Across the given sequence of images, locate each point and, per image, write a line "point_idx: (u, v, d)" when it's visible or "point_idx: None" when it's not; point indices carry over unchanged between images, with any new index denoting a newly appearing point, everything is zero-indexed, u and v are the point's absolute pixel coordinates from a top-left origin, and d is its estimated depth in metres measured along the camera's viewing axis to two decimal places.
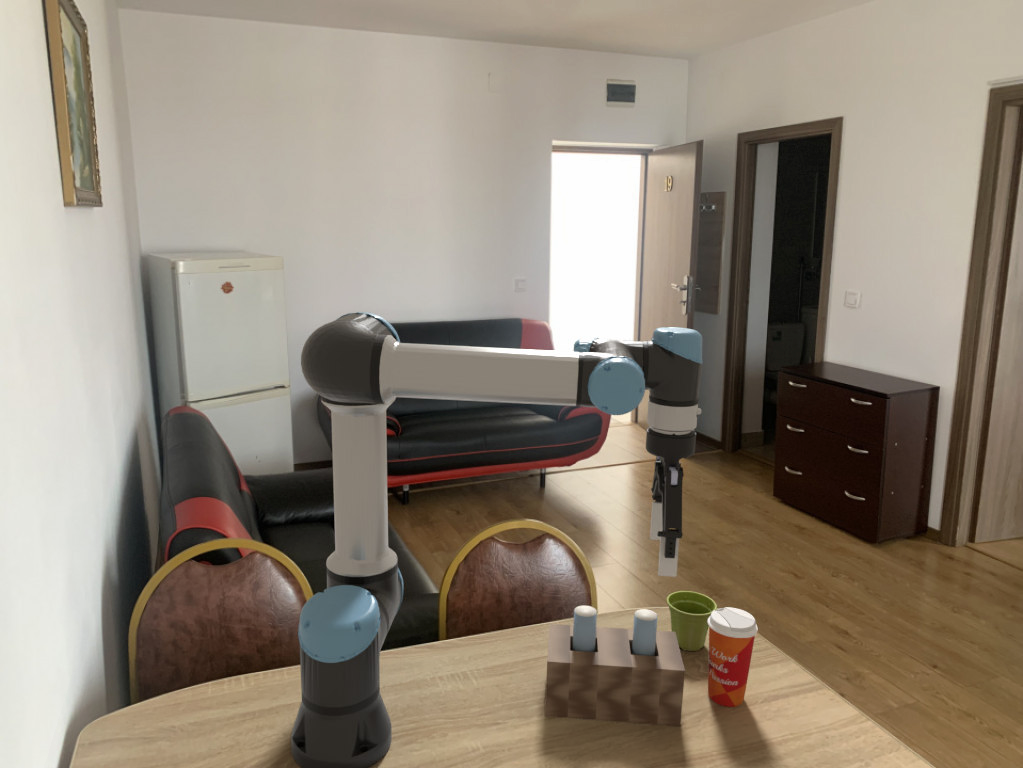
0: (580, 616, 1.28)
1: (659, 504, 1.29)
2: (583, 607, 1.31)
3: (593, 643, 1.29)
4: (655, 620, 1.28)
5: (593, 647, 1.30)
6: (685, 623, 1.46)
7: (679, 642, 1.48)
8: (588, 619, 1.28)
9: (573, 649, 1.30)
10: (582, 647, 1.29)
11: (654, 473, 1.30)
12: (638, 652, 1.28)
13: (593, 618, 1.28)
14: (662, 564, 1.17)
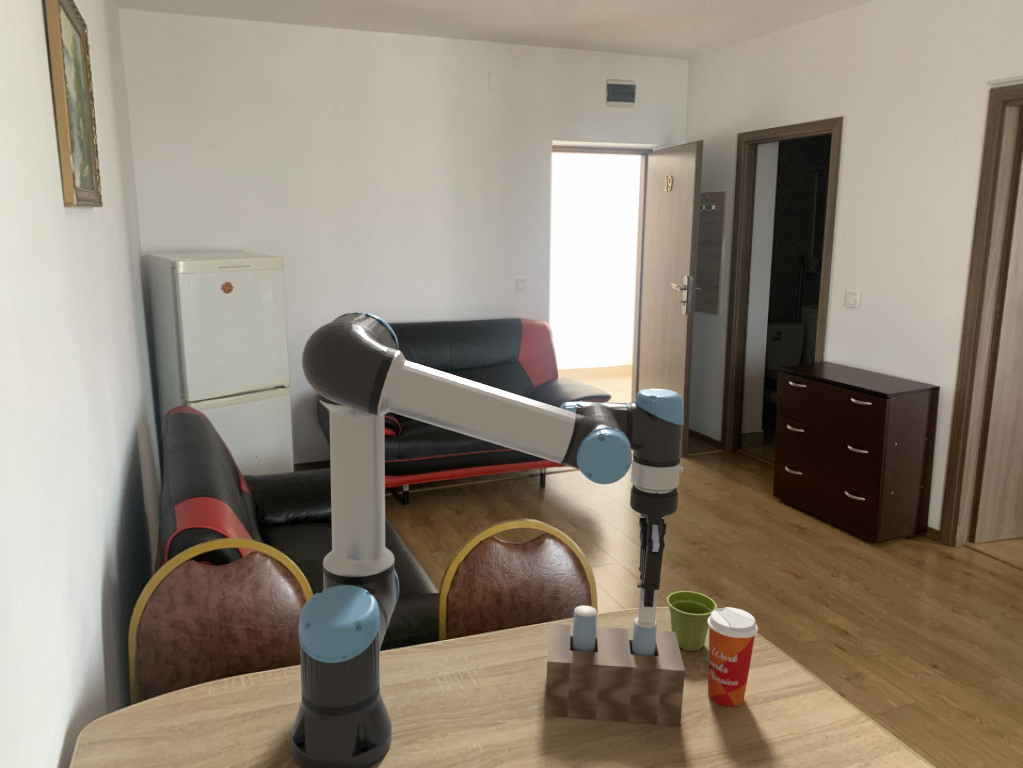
0: (580, 616, 1.28)
1: None
2: (583, 607, 1.31)
3: (593, 643, 1.29)
4: (654, 627, 1.28)
5: (593, 647, 1.30)
6: (685, 623, 1.46)
7: (679, 642, 1.48)
8: (588, 619, 1.28)
9: (573, 649, 1.30)
10: (582, 647, 1.29)
11: (640, 546, 1.31)
12: None
13: (593, 618, 1.28)
14: (642, 612, 1.28)
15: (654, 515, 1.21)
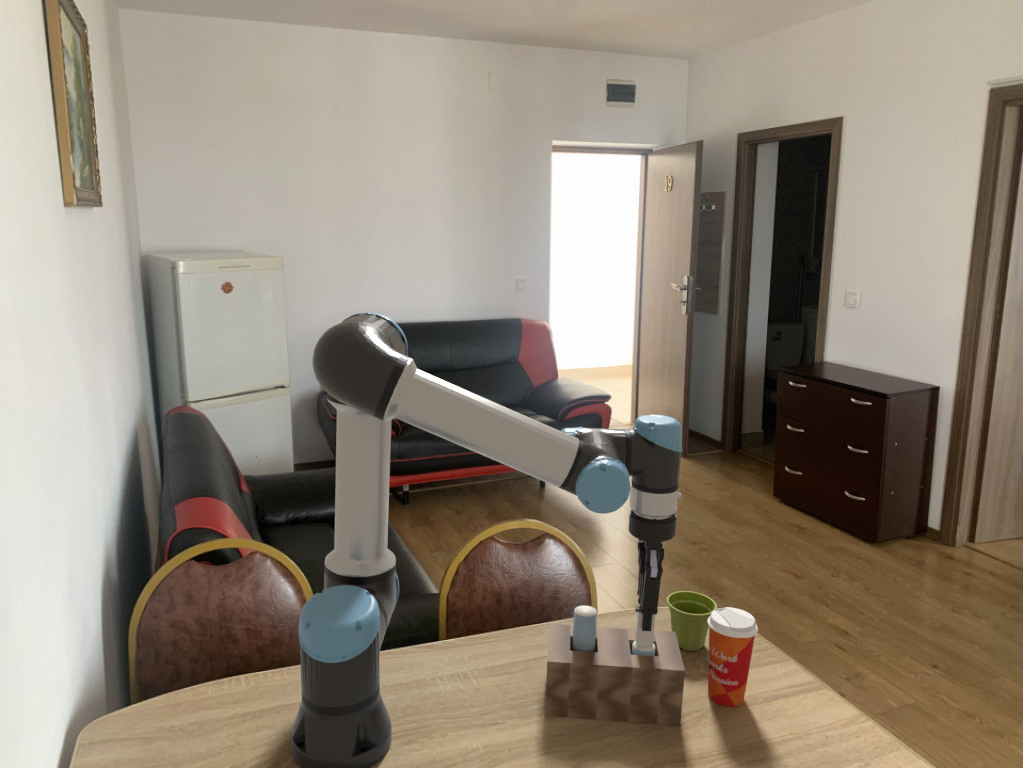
0: (580, 616, 1.28)
1: None
2: (583, 607, 1.31)
3: (593, 643, 1.29)
4: (653, 651, 1.29)
5: (593, 647, 1.30)
6: (685, 623, 1.46)
7: (679, 642, 1.48)
8: (588, 619, 1.28)
9: (573, 649, 1.30)
10: (582, 647, 1.29)
11: None
12: None
13: (593, 618, 1.28)
14: (640, 635, 1.29)
15: (652, 541, 1.22)
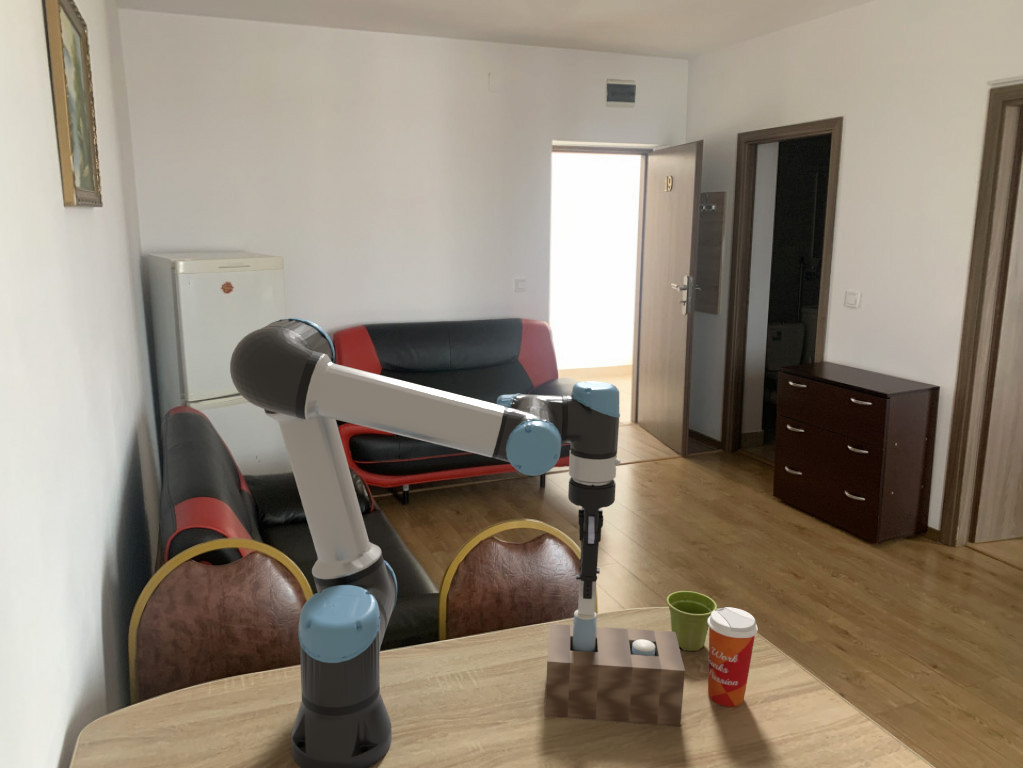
0: (580, 619, 1.28)
1: None
2: None
3: (593, 646, 1.29)
4: (653, 651, 1.29)
5: (593, 650, 1.30)
6: (685, 623, 1.46)
7: (679, 642, 1.48)
8: (588, 622, 1.28)
9: None
10: (582, 650, 1.29)
11: None
12: None
13: (593, 621, 1.28)
14: (581, 604, 1.28)
15: (590, 507, 1.22)
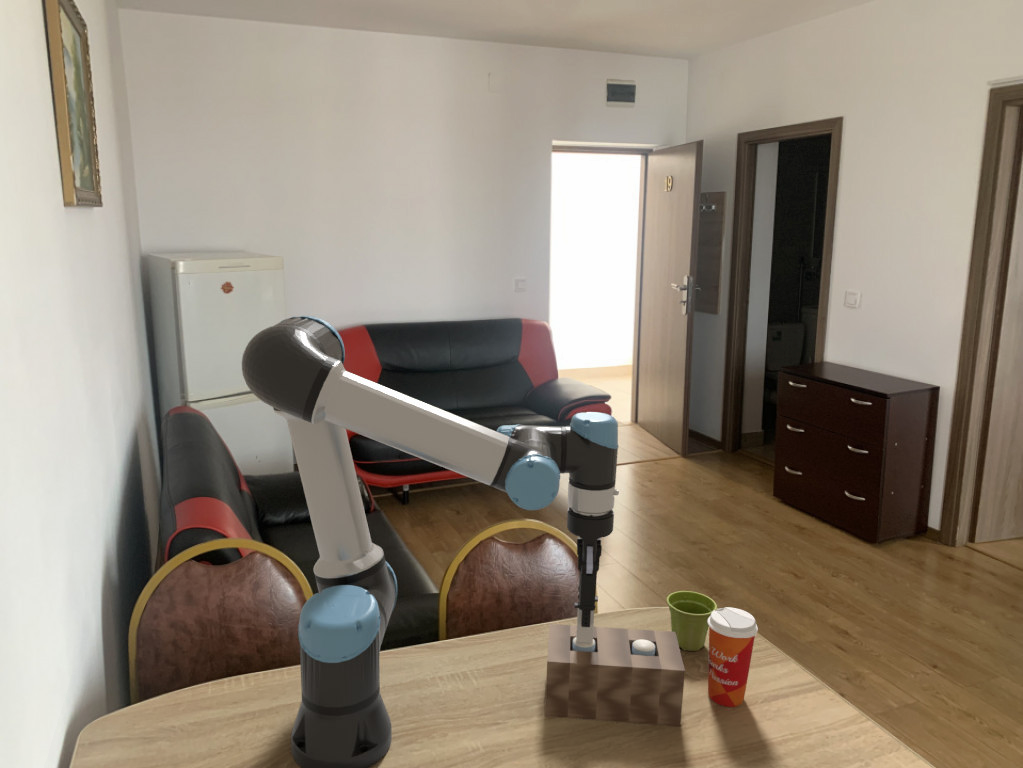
0: (579, 646, 1.29)
1: None
2: None
3: None
4: (653, 651, 1.29)
5: None
6: (685, 623, 1.46)
7: (679, 642, 1.48)
8: (587, 650, 1.29)
9: None
10: None
11: None
12: None
13: (592, 648, 1.29)
14: (580, 631, 1.29)
15: (588, 537, 1.23)
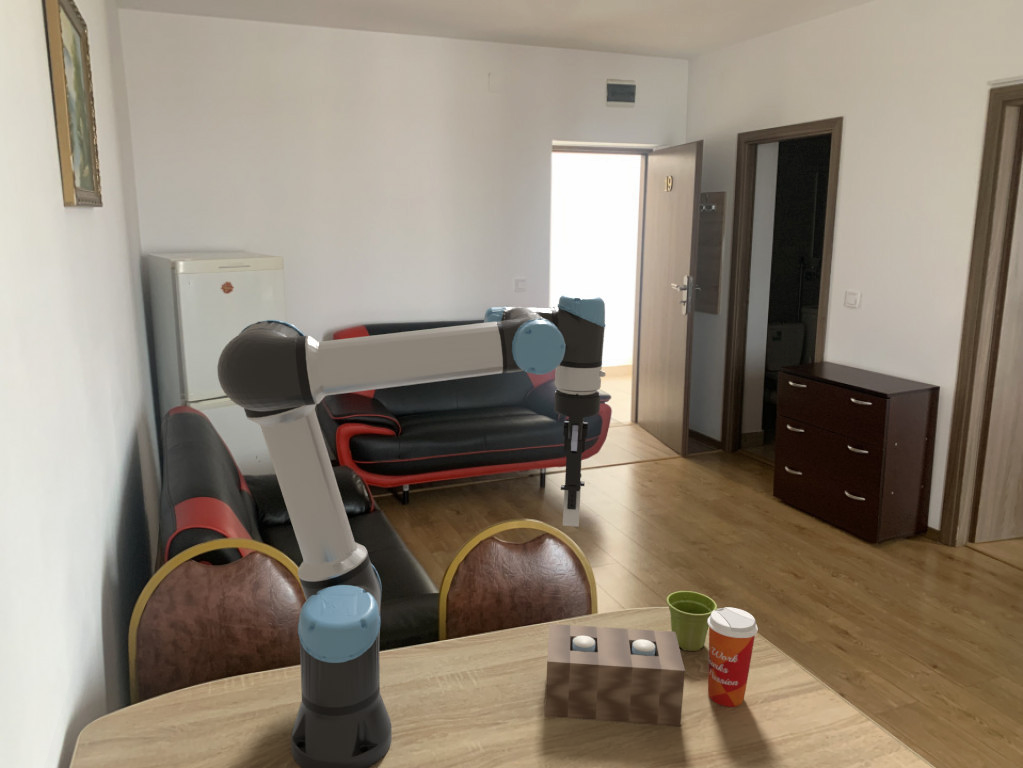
0: (579, 646, 1.29)
1: None
2: (582, 637, 1.32)
3: None
4: (653, 651, 1.29)
5: None
6: (685, 623, 1.46)
7: (679, 642, 1.48)
8: (586, 650, 1.29)
9: None
10: None
11: None
12: None
13: (592, 648, 1.29)
14: (566, 515, 1.31)
15: (574, 416, 1.25)
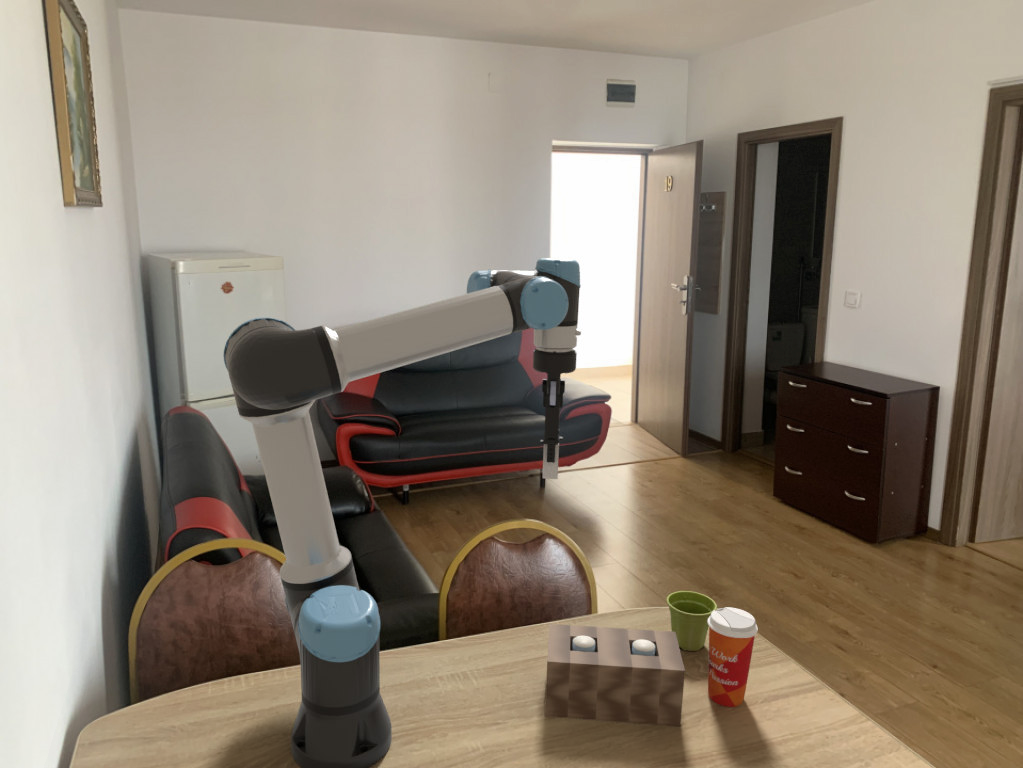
0: (579, 646, 1.29)
1: None
2: (582, 637, 1.32)
3: None
4: (653, 651, 1.29)
5: None
6: (685, 623, 1.46)
7: (679, 642, 1.48)
8: (586, 650, 1.29)
9: None
10: None
11: None
12: None
13: (592, 648, 1.29)
14: (545, 468, 1.39)
15: (552, 372, 1.32)
